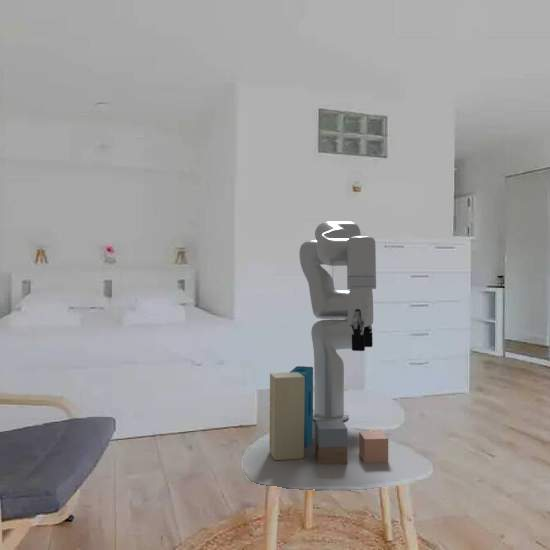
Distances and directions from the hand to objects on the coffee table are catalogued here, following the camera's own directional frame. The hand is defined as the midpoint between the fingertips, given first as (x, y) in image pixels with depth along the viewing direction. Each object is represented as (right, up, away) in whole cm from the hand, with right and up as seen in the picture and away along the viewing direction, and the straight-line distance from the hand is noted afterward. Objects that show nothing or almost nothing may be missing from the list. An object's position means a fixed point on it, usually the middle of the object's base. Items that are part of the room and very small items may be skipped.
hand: (362, 348), depth 141 cm
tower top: (-9, -23, -4) cm, 25 cm away
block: (-16, -28, +9) cm, 33 cm away
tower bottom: (-9, -28, -4) cm, 29 cm away
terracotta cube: (+2, -28, -3) cm, 28 cm away
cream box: (-20, -28, -1) cm, 34 cm away
